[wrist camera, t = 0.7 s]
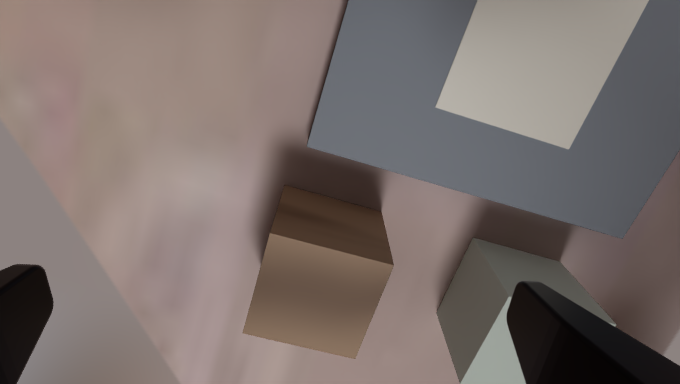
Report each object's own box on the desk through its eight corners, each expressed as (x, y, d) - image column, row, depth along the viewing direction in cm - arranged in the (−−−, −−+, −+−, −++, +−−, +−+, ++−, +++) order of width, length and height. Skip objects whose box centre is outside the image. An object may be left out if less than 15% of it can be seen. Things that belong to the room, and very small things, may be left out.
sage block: (516, 332, 24) (559, 406, 20) (436, 311, 24) (460, 383, 19) (558, 260, 22) (616, 324, 18) (472, 236, 22) (509, 296, 17)
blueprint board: (610, 229, 21) (622, 239, 20) (308, 140, 20) (306, 146, 19) (783, -49, 17) (810, -53, 16) (406, -202, 15) (411, -217, 14)
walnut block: (351, 290, 23) (355, 358, 18) (261, 267, 22) (242, 333, 18) (381, 211, 21) (393, 265, 17) (284, 184, 21) (269, 233, 16)
